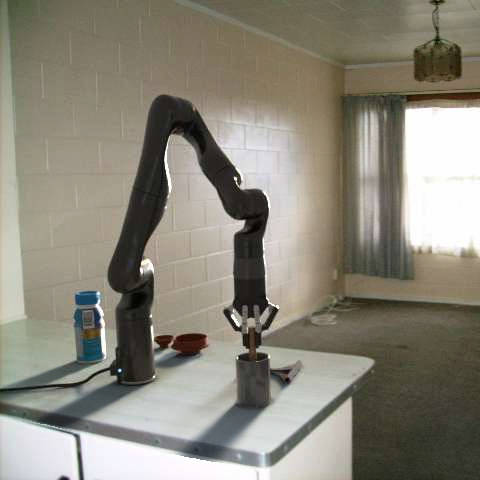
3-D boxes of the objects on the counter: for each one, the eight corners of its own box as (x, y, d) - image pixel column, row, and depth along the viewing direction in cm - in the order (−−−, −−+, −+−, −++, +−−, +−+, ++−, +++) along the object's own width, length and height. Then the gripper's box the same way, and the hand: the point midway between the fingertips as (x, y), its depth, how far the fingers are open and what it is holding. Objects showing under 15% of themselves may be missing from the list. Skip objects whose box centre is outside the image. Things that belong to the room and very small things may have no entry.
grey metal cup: (236, 409, 147) (234, 362, 145) (237, 396, 155) (236, 352, 153) (271, 407, 147) (269, 361, 146) (270, 394, 155) (269, 351, 154)
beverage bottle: (69, 362, 184) (64, 294, 182) (90, 354, 192) (86, 289, 189) (92, 365, 181) (88, 296, 178) (112, 356, 189) (108, 290, 186)
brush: (246, 395, 149) (243, 329, 147) (246, 390, 152) (244, 325, 150) (261, 395, 149) (259, 328, 147) (261, 389, 153) (259, 324, 151)
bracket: (250, 364, 179) (250, 354, 179) (302, 366, 177) (302, 356, 176) (235, 381, 165) (234, 371, 165) (290, 384, 163) (290, 373, 162)
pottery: (192, 359, 184) (191, 345, 184) (142, 350, 195) (142, 336, 194) (218, 349, 194) (217, 335, 194) (169, 341, 205) (169, 327, 204)
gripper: (279, 271, 152) (281, 342, 154) (221, 273, 150) (223, 344, 152) (280, 277, 144) (282, 351, 146) (218, 279, 143) (221, 353, 145)
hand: (252, 347), depth 149 cm, fingers closed on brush, 2 cm apart
